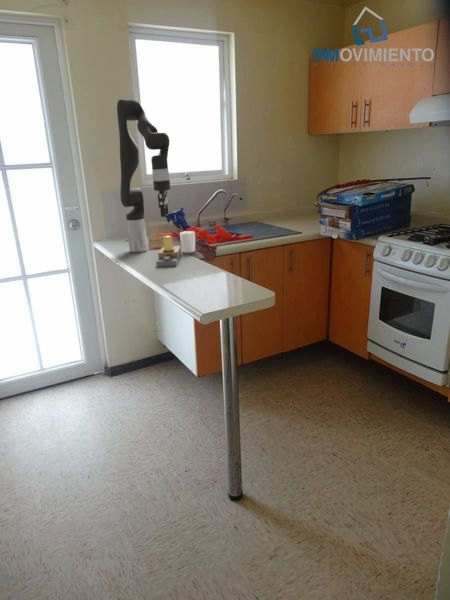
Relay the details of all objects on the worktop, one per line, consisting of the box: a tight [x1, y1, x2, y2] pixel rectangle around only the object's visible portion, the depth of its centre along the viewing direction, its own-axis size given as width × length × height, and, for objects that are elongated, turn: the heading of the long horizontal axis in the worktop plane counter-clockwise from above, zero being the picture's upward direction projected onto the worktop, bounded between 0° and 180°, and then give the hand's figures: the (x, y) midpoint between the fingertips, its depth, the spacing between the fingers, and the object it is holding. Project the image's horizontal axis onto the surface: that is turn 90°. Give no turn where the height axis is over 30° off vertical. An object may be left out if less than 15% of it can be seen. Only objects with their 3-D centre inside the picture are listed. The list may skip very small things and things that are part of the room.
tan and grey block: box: [155, 243, 182, 268], centre depth 207 cm, size 9×22×6 cm, turn 179°
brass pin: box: [162, 235, 173, 252], centre depth 206 cm, size 4×4×12 cm
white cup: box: [179, 230, 196, 254], centre depth 225 cm, size 8×8×10 cm
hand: (164, 215), depth 201 cm, fingers open, 8 cm apart
